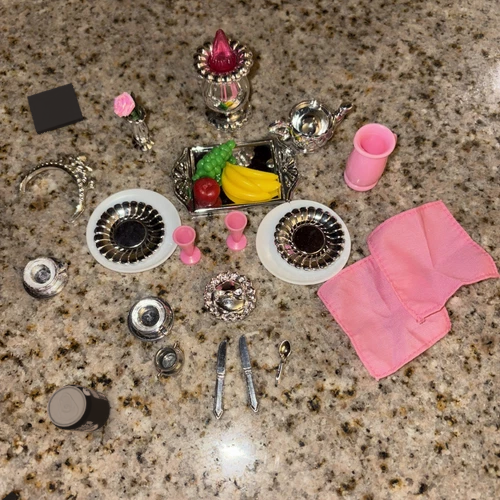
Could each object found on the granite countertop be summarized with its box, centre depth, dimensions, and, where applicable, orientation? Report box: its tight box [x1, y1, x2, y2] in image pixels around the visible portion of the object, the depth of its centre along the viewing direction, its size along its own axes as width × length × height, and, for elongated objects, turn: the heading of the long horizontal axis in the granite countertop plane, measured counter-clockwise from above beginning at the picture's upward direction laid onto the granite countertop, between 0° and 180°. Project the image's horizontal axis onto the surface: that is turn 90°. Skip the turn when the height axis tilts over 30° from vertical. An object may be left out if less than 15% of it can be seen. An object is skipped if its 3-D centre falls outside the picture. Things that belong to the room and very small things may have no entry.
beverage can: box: [46, 383, 111, 433], centre depth 78 cm, size 7×7×12 cm
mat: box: [26, 82, 84, 135], centre depth 106 cm, size 10×10×1 cm
